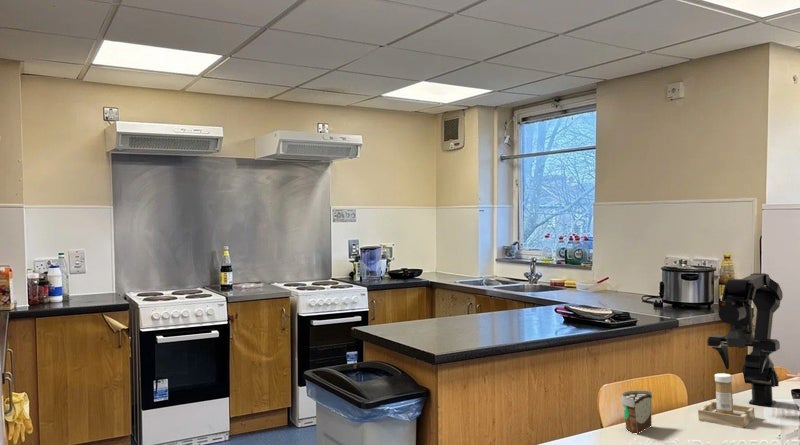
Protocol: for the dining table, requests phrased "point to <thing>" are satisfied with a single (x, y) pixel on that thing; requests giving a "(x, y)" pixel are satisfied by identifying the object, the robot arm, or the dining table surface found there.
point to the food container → (637, 410)
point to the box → (727, 415)
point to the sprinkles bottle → (724, 393)
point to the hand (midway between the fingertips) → (744, 371)
